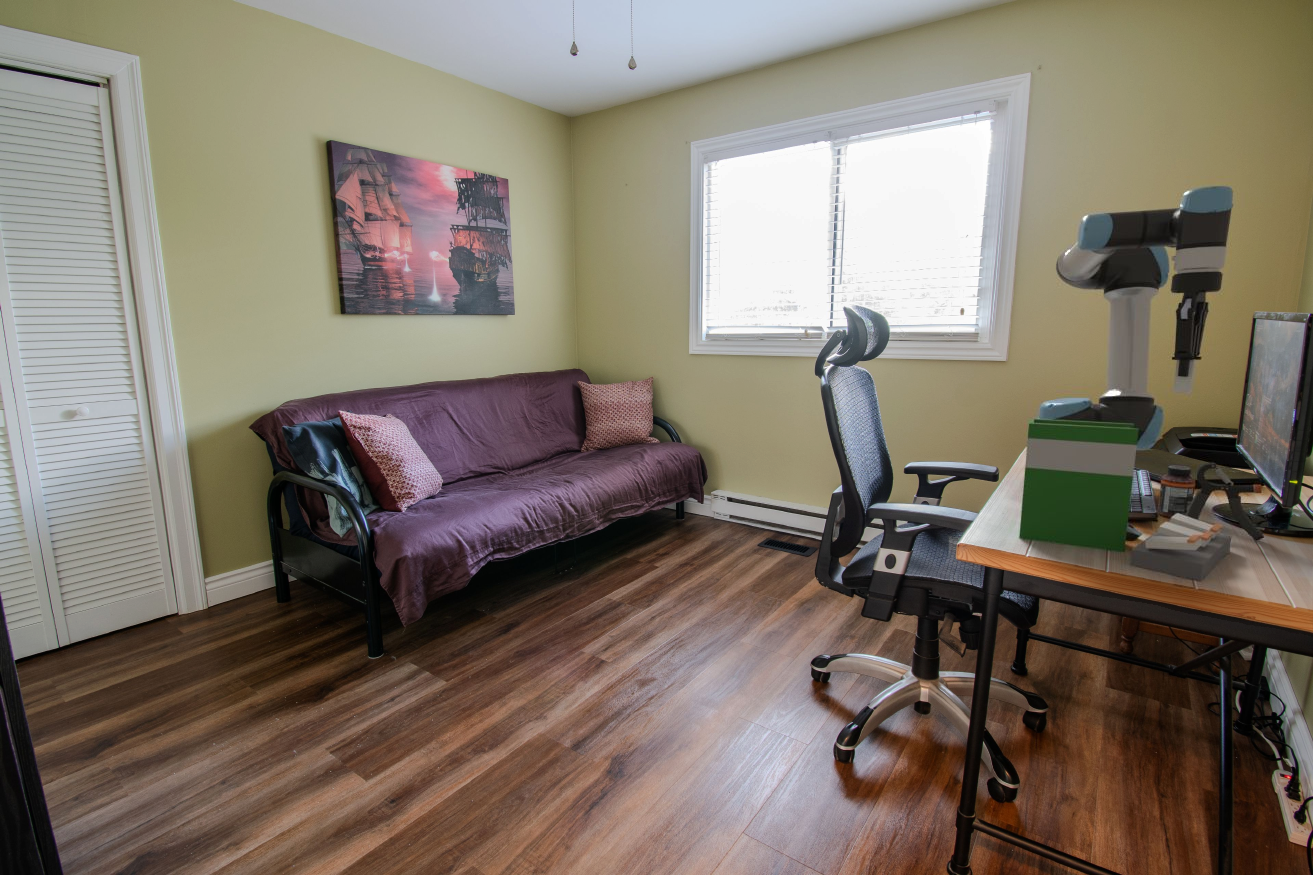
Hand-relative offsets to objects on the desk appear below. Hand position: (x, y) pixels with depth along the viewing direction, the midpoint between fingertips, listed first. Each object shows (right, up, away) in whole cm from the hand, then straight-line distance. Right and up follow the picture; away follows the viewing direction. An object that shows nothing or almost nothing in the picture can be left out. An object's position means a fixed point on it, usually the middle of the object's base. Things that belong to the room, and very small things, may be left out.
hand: (1182, 392), depth 128 cm
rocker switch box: (-5, -31, -7) cm, 33 cm away
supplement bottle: (+12, -27, +17) cm, 34 cm away
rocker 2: (-2, -26, -5) cm, 27 cm away
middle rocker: (-7, -27, -10) cm, 30 cm away
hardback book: (-21, -30, +2) cm, 37 cm away
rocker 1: (-13, -28, -14) cm, 34 cm away
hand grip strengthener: (+10, -29, +3) cm, 31 cm away
